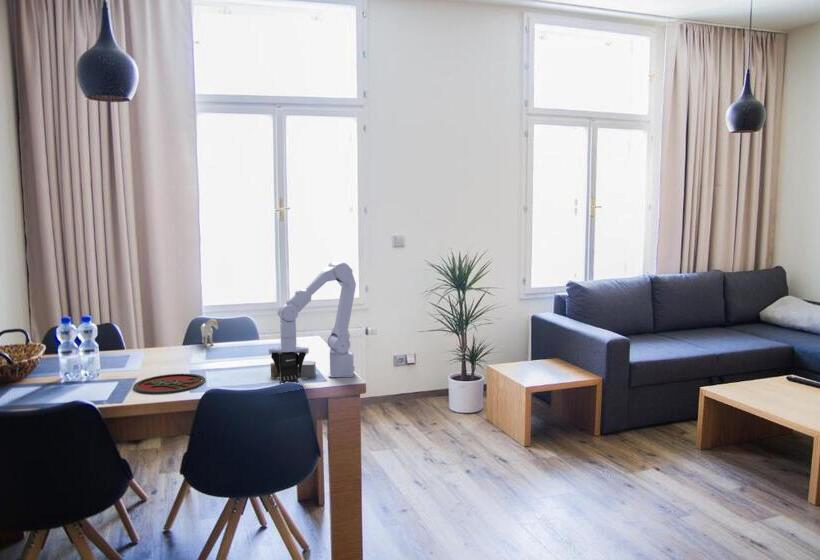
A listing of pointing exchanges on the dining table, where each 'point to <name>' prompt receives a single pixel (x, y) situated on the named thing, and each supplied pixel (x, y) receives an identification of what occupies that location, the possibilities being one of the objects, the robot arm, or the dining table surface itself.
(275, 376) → the walnut cylinder
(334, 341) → the robot arm
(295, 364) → the battery
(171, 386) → the decorative plate
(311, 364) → the charcoal cube
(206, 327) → the unicorn figurine
